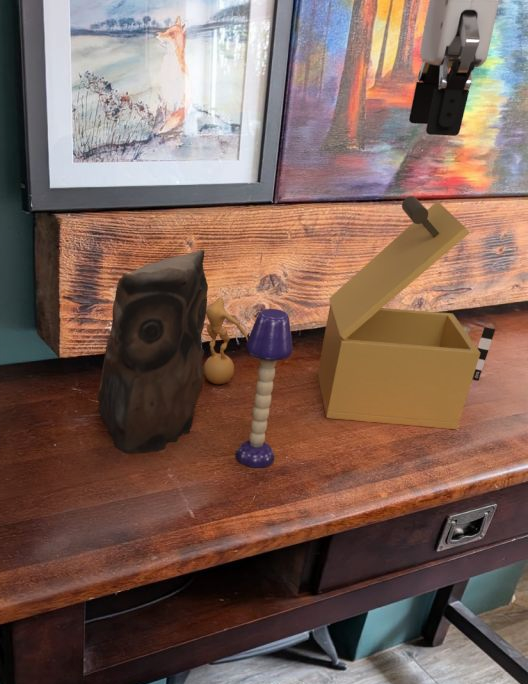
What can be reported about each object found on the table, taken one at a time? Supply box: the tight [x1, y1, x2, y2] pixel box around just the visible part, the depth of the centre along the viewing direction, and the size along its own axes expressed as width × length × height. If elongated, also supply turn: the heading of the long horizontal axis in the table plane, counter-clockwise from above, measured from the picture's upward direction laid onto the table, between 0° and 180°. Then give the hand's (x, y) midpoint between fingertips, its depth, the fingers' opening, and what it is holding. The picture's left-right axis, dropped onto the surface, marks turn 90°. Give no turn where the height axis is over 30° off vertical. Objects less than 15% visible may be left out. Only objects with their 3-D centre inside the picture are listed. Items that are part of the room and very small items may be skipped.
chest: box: [317, 303, 480, 430], centre depth 94 cm, size 16×14×10 cm
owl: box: [96, 249, 209, 455], centre depth 81 cm, size 13×13×20 cm
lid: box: [328, 195, 470, 340], centre depth 87 cm, size 17×14×5 cm
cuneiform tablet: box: [461, 324, 496, 381], centre depth 106 cm, size 7×4×12 cm
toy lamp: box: [235, 308, 293, 469], centre depth 78 cm, size 5×5×17 cm
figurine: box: [203, 296, 249, 385], centre depth 95 cm, size 8×6×12 cm
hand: (432, 128), depth 80 cm, fingers open, 9 cm apart
